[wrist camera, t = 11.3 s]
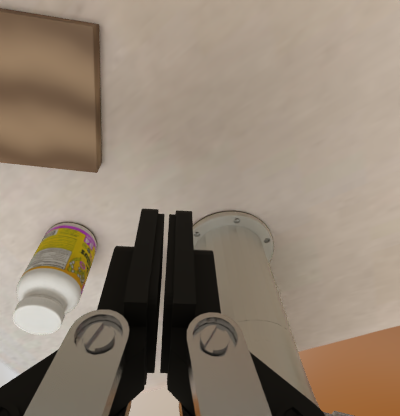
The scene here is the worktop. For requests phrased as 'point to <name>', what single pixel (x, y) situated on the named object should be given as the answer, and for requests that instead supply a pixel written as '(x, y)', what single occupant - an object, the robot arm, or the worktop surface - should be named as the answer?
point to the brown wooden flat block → (49, 92)
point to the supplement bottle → (54, 278)
